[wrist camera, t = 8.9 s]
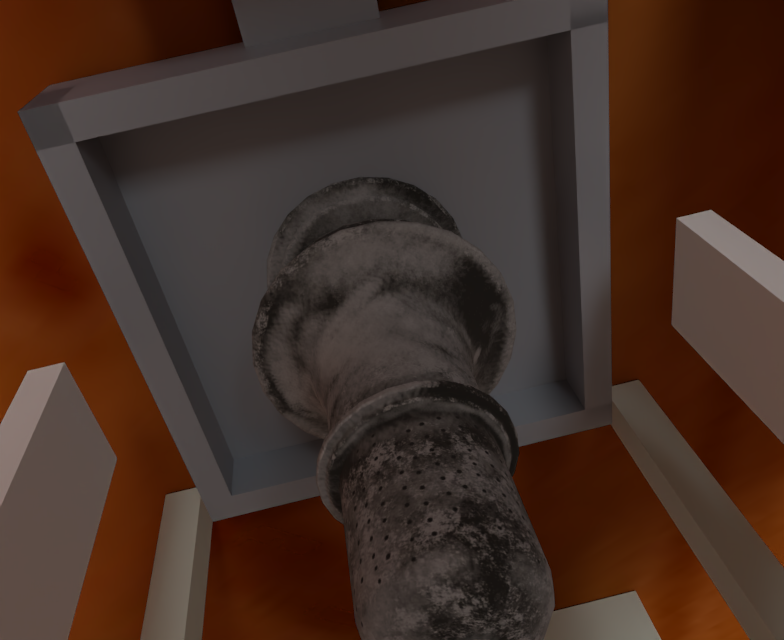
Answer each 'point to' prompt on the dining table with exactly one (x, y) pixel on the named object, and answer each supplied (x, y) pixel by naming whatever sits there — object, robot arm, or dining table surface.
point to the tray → (330, 165)
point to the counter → (567, 626)
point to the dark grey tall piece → (405, 410)
